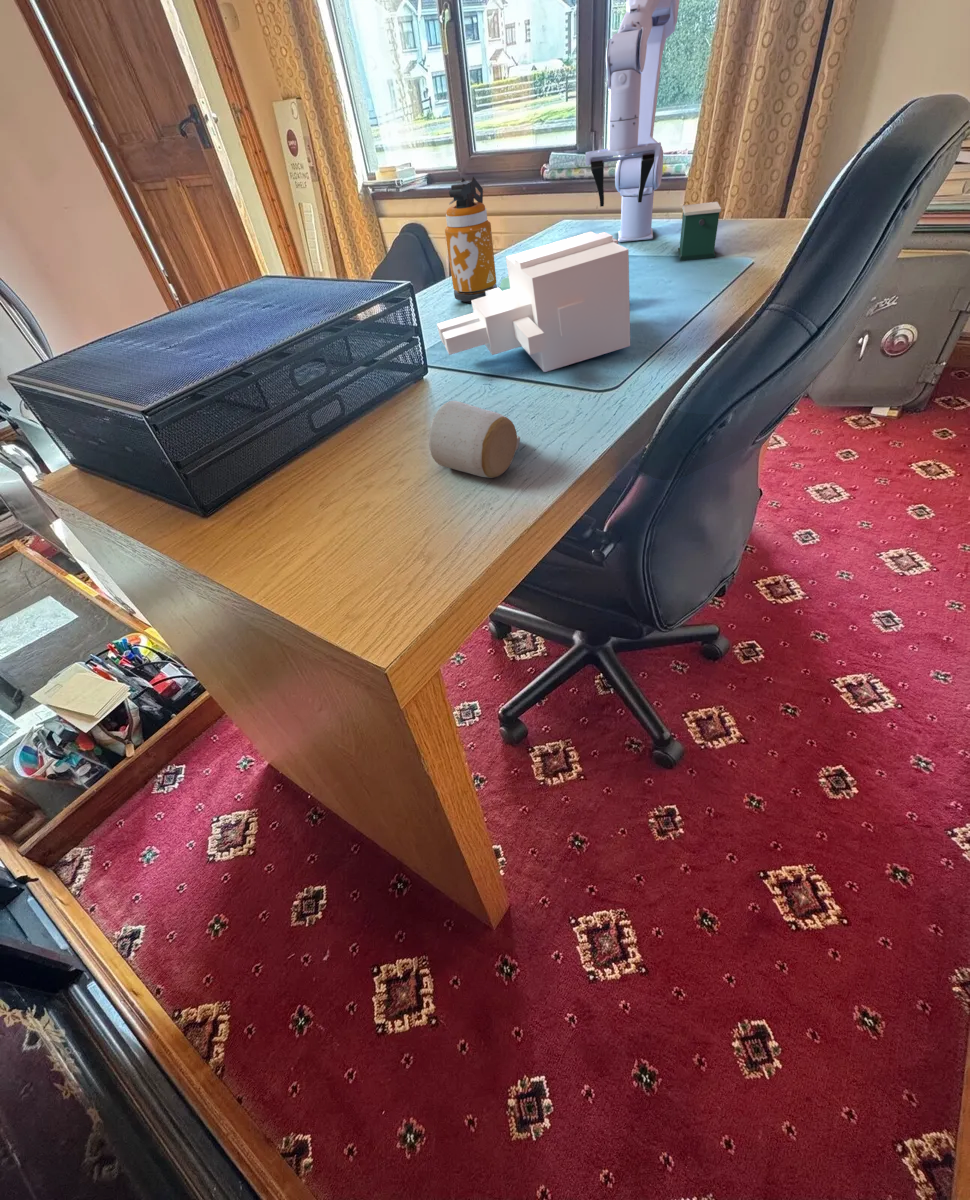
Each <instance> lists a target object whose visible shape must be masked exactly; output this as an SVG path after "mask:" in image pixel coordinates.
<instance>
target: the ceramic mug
mask: <svg viewBox="0 0 970 1200" xmlns="http://www.w3.org/2000/svg"><path fill="white" fill-rule="evenodd" d="M433 416H434V417H433V418H432V421H431V424H430V428H429V433H428V444H429V445H428V446H429V452H430V454H431V457H432V459H433V461H434V462H435V463H436V464H437V465H439V466H442V467H445V468H449V469H451V470H455V471H458V472H463V473H468V474H471V475H473V476H478V477H481V478H487V479H488V478H490V479H494V478H497V477H499V476H501V475H503V474H504V473H505V472H506V471H507V470H508V468H509V467H510V465H511V464H512V462H513V460H514V457H515V454H516V452H517V451H518V450H519V448H520V444H521V437H520V436H519V435H518V433H517V429H516V426H515V424H514V423H513V421H512V420H511V419H510V418H509V417H507V416H505V415H504V414H501V413H498V412H497V411H492V410H488V409H484V408H481V407H479V406H474V405H472V404H468V403H465V402H463V401H458V400H449V401H447V402H445V403H443V405H441V406H440V407H439V408H438V410H437V411H436V413H435V414H434V415H433Z"/></svg>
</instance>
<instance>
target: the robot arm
mask: <svg viewBox="0 0 970 1200" xmlns="http://www.w3.org/2000/svg"><path fill="white" fill-rule="evenodd" d="M625 7H626V8H625V10H626V12H625V13H624V15H623V17H622V20H621V23H620V25H619V28H618V30H617V33H613V34H612V37H611V38H608V41H607V45H606V52H605V65H606V75H607V76H606V77H607V78H606V79H607V80H606V81H607V83H606V84H607V85H606V86H607V90H608V91H609V92H608V93H609V95H608V136H607V137H608V141H607V148H602V149H597V150H596V149H595V150H590V151H586V152H585V162H584V163H585V166H589V165H590V171H591V174H592V177H593V179H594V182H595V185H596V188H597V193H598V198H599V207H600V208H601V207H604V206H605V189H604V180H605V179H604V178H605V177H604V176H605V175H604V172H605V163H611V162H617V163H616V166H615V174H614V175H615V176H614V186H615V190H616V191H617V193H619V196H621V205H620V206H621V207H620V208H621V209H620V213H621V214H620V230H619V231H618V239H617V240H618V243H625V242H634V241H635V242H636V241H646V240H653V239H654V233H653V232H654V231H653V227H652V224H653V213H654V212H653V210H654V196H655V191H656V190H658V189H659V188H660V186H661V183H662V178H663V171H664V150H663V146H662V143H661V142H660V141H659V142H658V141H657V140H656V139H655V138H654V131H655V129H654V128H655V120H656V113H657V103H658V97H659V96H658V95H659V86H660V80H661V79H660V78H661V69H662V61H663V55H664V54H663V53H664V50H665V46H666V41H667V39H668V38H669V37H670V36H671V35H673V34H674V33H675V31H676V25H677V23H678V16H679V8H680V0H625Z"/></svg>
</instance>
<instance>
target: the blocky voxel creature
mask: <svg viewBox="0 0 970 1200" xmlns="http://www.w3.org/2000/svg"><path fill="white" fill-rule="evenodd" d="M629 251H630V250H629V248H628V247H625V246H623V245H621V244H619V242H618V239H616V238H614V235H612V234H610V233H608V232H605V231H602V232H598V233H595V232H594V231H592V230H591V231H588V232H584V233H580V234H576V235H573V236H570V237H567V238H563V239H560V240H556V241H553V242H550V243H547V244H543V245H540V246H537V247H533V248H530V249H527V250H523V251H520V252H517V253H513V254H510V255H506V256H505V262H506V268H507V269H506V270H507V276H509V282H510V289H507V290H504V291H502V290H501V289H500V286H497V288H494V289H491V290H488V291H485V293H486V296H484V297H481V298H477V299H474V300H471V302H472V303H471V306H472V311H473V312H469V313H467V314H464V315H460V316H457V317H454V318H450V319H447V320H443V321H441V322H437V323H436V327H437V331H438V335H439V338H440V341H441V342H442V344H443V346H444V347H445V350H446V352H447V353H448V355H449V356H450V355H451V356H452V355H454V354H458V353H462V352H464V351H467V350H472V349H474V348H478V347H481V346H485V347H486V349H487V351H488V352H490V354H491V356H494V355H498V354H502V353H505V352H507V351H510V350H514V349H518V348H520V347H521V348H522V349H524V351H525V352H526V353H527V354H528V356H529V357H530V358H531V359H532V360H533V361H534V362H535V364H536V365H537V366H538V367H539V368H540V369H541V371H542V372H543V373H546V372H551V371H553V370H557V369H560V368H563V367H566V366H569V365H573V364H576V363H579V362H583V361H586V360H589V359H593V358H596V357H599V356H602V355H604V354H608V353H611V352H615V351H618V350H619V351H620V350H622V349H625V348H629V347H631V312H630V311H631V309H630V308H631V307H630V305H631V304H630V254H629V253H630V252H629Z"/></svg>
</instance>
